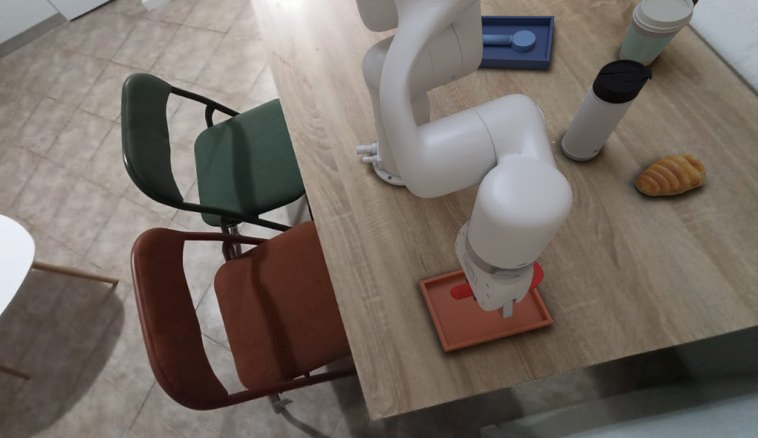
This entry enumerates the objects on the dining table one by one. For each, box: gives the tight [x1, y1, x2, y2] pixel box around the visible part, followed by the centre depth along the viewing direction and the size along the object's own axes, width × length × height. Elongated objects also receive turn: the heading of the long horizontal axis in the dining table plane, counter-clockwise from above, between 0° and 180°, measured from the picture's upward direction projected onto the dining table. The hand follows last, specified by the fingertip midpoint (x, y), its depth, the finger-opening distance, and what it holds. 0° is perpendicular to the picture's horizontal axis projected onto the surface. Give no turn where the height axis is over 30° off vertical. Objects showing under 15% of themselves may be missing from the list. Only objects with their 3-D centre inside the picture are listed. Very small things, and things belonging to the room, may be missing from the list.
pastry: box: [634, 153, 707, 197], centre depth 74 cm, size 9×7×4 cm
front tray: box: [419, 268, 554, 353], centre depth 74 cm, size 17×12×2 cm
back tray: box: [478, 15, 555, 70], centre depth 94 cm, size 17×12×2 cm
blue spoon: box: [482, 31, 536, 52], centre depth 94 cm, size 13×4×2 cm, turn 73°
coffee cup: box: [618, 0, 695, 67], centre depth 81 cm, size 8×8×12 cm
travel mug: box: [560, 59, 653, 162], centre depth 73 cm, size 6×7×20 cm
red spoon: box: [450, 261, 545, 300], centre depth 63 cm, size 13×4×2 cm, turn 103°
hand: (480, 287), depth 64 cm, fingers closed on red spoon, 2 cm apart
